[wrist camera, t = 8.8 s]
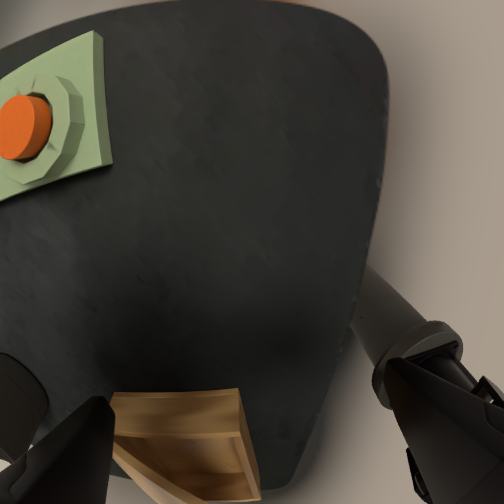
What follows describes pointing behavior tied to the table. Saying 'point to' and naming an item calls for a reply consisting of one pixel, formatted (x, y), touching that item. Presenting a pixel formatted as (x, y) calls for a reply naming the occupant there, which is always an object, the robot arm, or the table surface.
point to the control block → (61, 114)
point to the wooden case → (191, 441)
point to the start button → (23, 126)
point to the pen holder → (18, 408)
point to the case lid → (152, 480)
